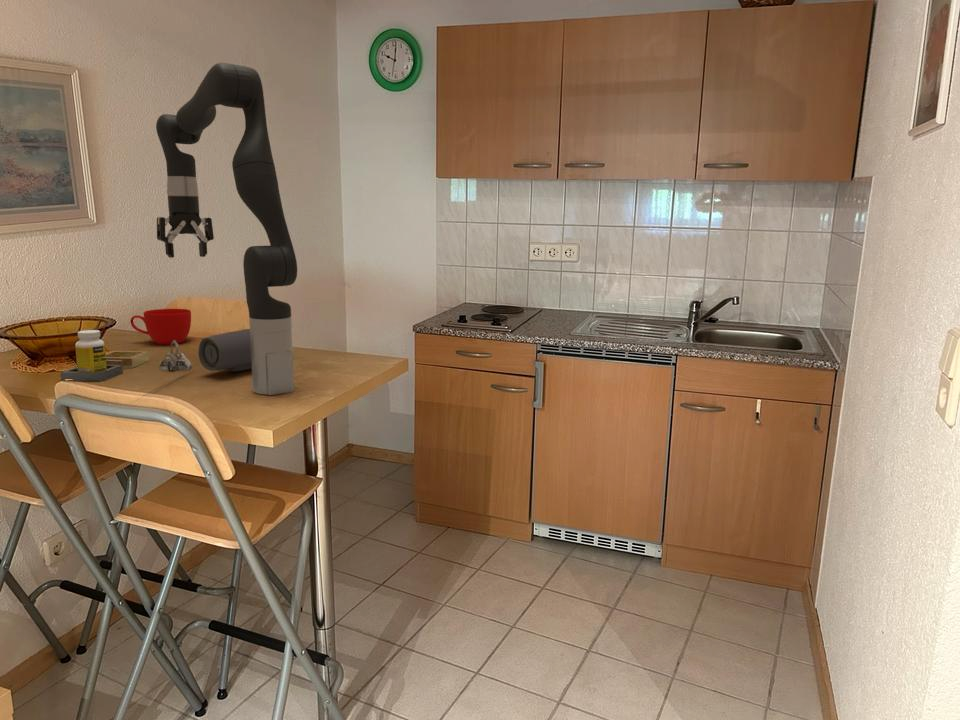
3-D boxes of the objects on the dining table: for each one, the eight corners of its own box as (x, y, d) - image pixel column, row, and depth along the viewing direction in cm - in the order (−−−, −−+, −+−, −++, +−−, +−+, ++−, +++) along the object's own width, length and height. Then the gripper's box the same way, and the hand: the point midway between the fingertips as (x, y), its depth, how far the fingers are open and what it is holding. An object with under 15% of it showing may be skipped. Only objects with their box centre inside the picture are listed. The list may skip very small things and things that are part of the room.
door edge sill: (123, 369, 181) (122, 360, 180) (121, 370, 179) (120, 361, 179) (87, 369, 180) (86, 359, 180) (85, 370, 179) (84, 360, 179)
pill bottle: (98, 380, 169) (94, 333, 167) (72, 379, 170) (68, 333, 167) (112, 374, 176) (108, 329, 173) (87, 373, 176) (83, 329, 173)
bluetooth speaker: (222, 378, 173) (220, 337, 171) (197, 373, 178) (195, 333, 176) (293, 363, 192) (292, 326, 190) (269, 358, 197) (267, 322, 195)
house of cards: (143, 375, 176) (140, 344, 175) (158, 368, 185) (156, 338, 183) (179, 376, 176) (177, 345, 175) (193, 368, 185) (192, 339, 183)
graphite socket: (122, 373, 177) (122, 365, 177) (100, 381, 168) (99, 373, 167) (85, 371, 178) (84, 363, 177) (61, 380, 168) (60, 372, 168)
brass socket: (149, 360, 192) (148, 351, 191) (132, 368, 183) (132, 358, 182) (113, 360, 192) (113, 350, 191) (95, 367, 183) (94, 357, 182)
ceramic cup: (138, 341, 220) (135, 308, 218) (196, 340, 223) (194, 308, 221) (126, 349, 207) (123, 314, 205) (188, 348, 210) (185, 314, 208)
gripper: (161, 193, 181) (166, 258, 185) (215, 195, 191) (219, 256, 195) (149, 194, 187) (154, 257, 190) (202, 195, 197) (206, 255, 200)
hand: (187, 257), depth 192 cm, fingers open, 8 cm apart
